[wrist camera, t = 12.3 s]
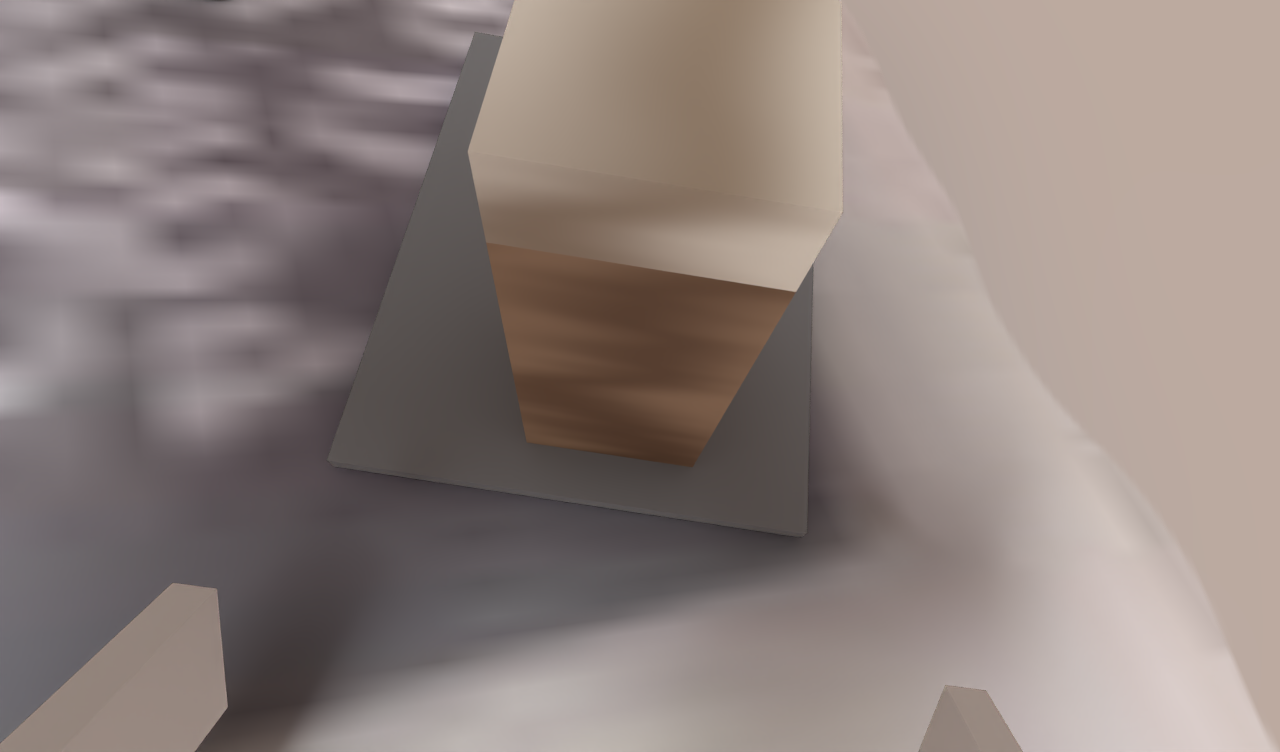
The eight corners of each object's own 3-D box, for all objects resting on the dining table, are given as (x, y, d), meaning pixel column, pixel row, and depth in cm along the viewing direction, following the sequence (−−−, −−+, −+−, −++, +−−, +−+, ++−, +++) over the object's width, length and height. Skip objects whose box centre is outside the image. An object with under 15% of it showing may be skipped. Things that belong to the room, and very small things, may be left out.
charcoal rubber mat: (333, 466, 19) (326, 460, 19) (476, 45, 27) (474, 32, 26) (800, 537, 20) (807, 533, 19) (812, 103, 27) (817, 91, 27)
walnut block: (526, 442, 19) (467, 151, 9) (556, 299, 22) (540, -82, 11) (692, 467, 20) (842, 213, 9) (706, 322, 22) (841, -29, 11)
